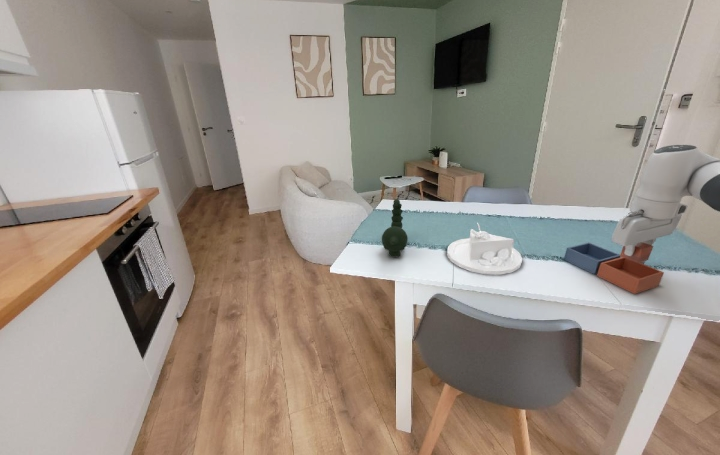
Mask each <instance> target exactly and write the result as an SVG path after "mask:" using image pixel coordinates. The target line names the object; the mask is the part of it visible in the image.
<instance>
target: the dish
mask: <svg viewBox="0 0 720 455" xmlns="http://www.w3.org/2000/svg"><path fill="white" fill-rule="evenodd" d="M476 225H477V228H478V231H476V230H475V229H473V228H471V229H470V233H469V237H467V238H461V239H457V240H455V241H452V242H451V243H450V244H449V245H448V246H447V250H446V257H447V258H448V259H449V261H450V262H452V263H453V264H454V265H456V266H457V267H458V268H461V269H464V270H466V271H468V272H471V273H477V274H482V275H494V276H495V275H496V276H497V275H499V276H500V275H501V276H502V275H505V274H506V275H507V274H511V273H513V272H516V271H517V270H519V269H520V268H521V265H522V263H523V257H522V254H521V253H520V252H519V251H518V250H517V249H516V248H514V242H515V239H514V238H509V237H504V236H500V235H494V234H490V233H489V232H487V231H484V230H481V226H480V224H479V223H478V222H476Z"/></svg>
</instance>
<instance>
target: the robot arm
mask: <svg viewBox="0 0 720 455" xmlns="http://www.w3.org/2000/svg"><path fill="white" fill-rule="evenodd" d="M639 182H640V183H639V187H638V188H637V190H636V192H635V193H634V195H633V199H632V202H631V203H630V207H629V212H628V213H627V214H626V215H625V216H623V217H621V218H620V219H619V221H618V222H617V224H616V226H615V228H614V231H613V232H612V235H611V241H612V243H614V244H616V245H619V246H622V247H623V246H625V252H624V254H625V255H628V256H632V255H635V252H636V250H635V246H636V245H637V243H640V242H643V243H646V244H649V245H652V246H653V245H654V243H655V242H656V241H657V239H658V238H663V237H666V236H670V235H672V234H673V233H674V232H675V230H676V229H677V227H678V225H679V223H680V221H681V218H682V215H683V214H685V213H686V212H687V210H688V205H687V204H683V203H681V201H682V199H683V198H684V197H693V198H695V199H697V200H699V201H701V202H703V203H704V204H705V205H707V206H708V207H710V208H711V209H712V210H714V211H717V212H718V213H719V212H720V158H718V157H715V156H713V155H710V154H708V153H706V152H704V151H702V150H701V149H699V148H698V147H697V146H696V145H691V144H673V145H666V146H662V147H659V148H657V149H655V150H654V151H652V153H651V154H650V155H649V157H648V159H647V160H646V163H645V165H644V168H643V170H642V172H641V175H640V179H639Z"/></svg>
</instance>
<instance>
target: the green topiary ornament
mask: <svg viewBox="0 0 720 455" xmlns="http://www.w3.org/2000/svg"><path fill="white" fill-rule="evenodd" d="M402 206H403V205H402V203H401V201H400V199H398V198H395V199H394V200H393V203H392V210H391V214H392V216H391V217H390V218H391V224H390V226H389V227H388V228H387V229H385V230H384V232H382V235H381V243H382V245H383V249H384V250H387V251H388V256H390V257H392V258H398V257H399V256H400V255H401V251H403V250H405V249H406V247H407V245H408V241H409V240H408V239H409V238H408V234H407V232H406V230H404V229H403V222H402V221H403V219H404V218H403V216H402V214H403V209H402Z"/></svg>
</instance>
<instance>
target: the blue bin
mask: <svg viewBox="0 0 720 455" xmlns="http://www.w3.org/2000/svg"><path fill="white" fill-rule="evenodd" d="M620 257H621V256H620V253H617V252H614V251H612V250H610V249H607V248H604V247H602V246H599V245H596V244H594V243H592V242H588V241H587V242H585V243H581V244H577V245H573V246H569V247H566V248H565V253H564V257H563V260H564V261H566V262H568V263H570V264H572V265H574V266H576V267H578V268H580V269H582V270H584V271H586V272H588V273H590V274H592V275H597V274H598V271H599V267H600V264H601V263H603V262H606V261H610V260H613V259H617V258H620Z"/></svg>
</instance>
